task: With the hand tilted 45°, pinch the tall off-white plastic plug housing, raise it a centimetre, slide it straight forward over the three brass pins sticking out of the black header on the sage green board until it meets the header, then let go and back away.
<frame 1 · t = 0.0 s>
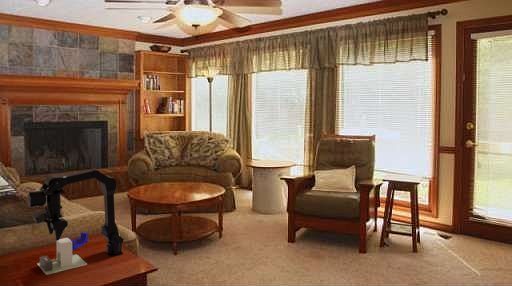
hand: (54, 237, 193), 15 cm above the table, tool pointing down, fingers open, 9 cm apart
cable clip: (77, 247, 220), on the table
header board: (62, 265, 198), on the table
plug housing: (64, 263, 198), point 1 cm above the table, touching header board
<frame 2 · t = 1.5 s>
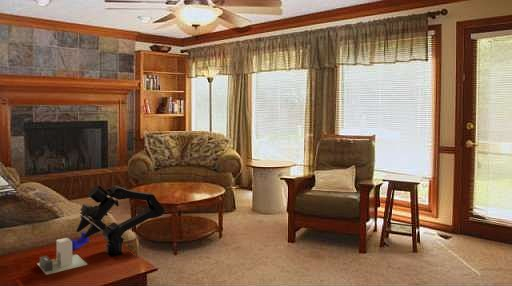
hand: (80, 234, 202), 13 cm above the table, tool tilted 45°, fingers open, 9 cm apart
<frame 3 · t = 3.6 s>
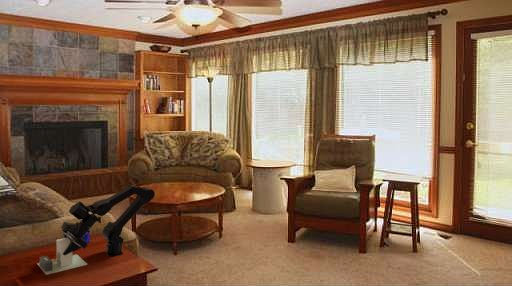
hand: (61, 252, 197), 7 cm above the table, tool tilted 45°, fingers closed on plug housing, 6 cm apart
plug housing: (64, 263, 198), point 1 cm above the table, touching gripper, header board
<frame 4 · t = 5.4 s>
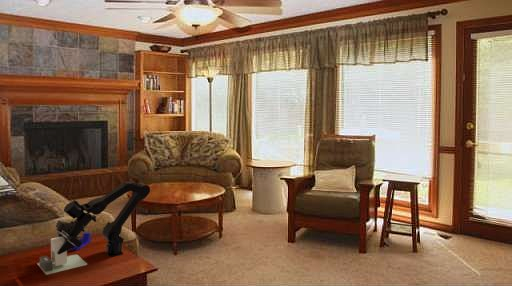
hand: (55, 251, 195), 8 cm above the table, tool tilted 45°, fingers closed on plug housing, 6 cm apart
plug housing: (59, 262, 197), point 2 cm above the table, touching gripper
when the fingers open (7 cm above the table, at t = 7.0 s): plug housing stays where it is, resting on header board.
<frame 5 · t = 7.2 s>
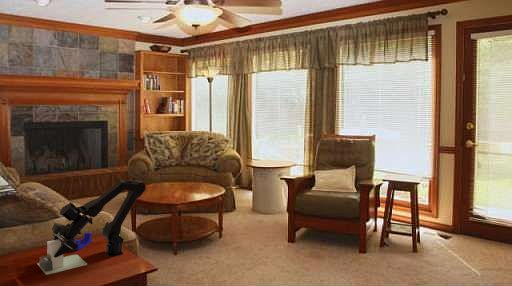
hand: (51, 254, 194), 7 cm above the table, tool tilted 45°, fingers open, 7 cm apart
plug housing: (55, 265, 196), point 1 cm above the table, touching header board
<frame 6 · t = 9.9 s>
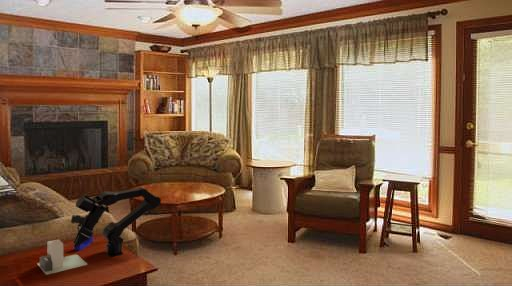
hand: (74, 245, 201), 8 cm above the table, tool tilted 35°, fingers open, 9 cm apart
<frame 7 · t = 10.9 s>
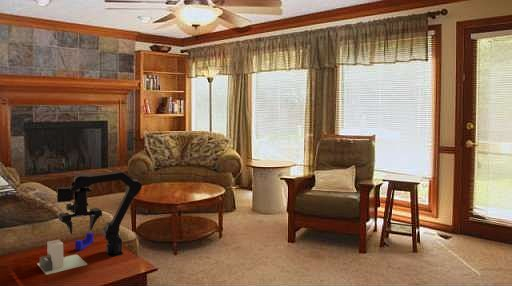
hand: (80, 232, 206), 13 cm above the table, tool pointing down, fingers open, 9 cm apart
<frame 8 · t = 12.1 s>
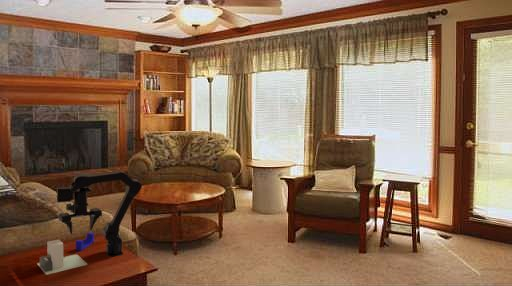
hand: (80, 232, 206), 13 cm above the table, tool pointing down, fingers open, 9 cm apart
at the end: plug housing 0.1 cm from the target spot on the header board, point 1.0 cm above the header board's base; plug housing tilted 0°; the gripper is holding nothing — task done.
